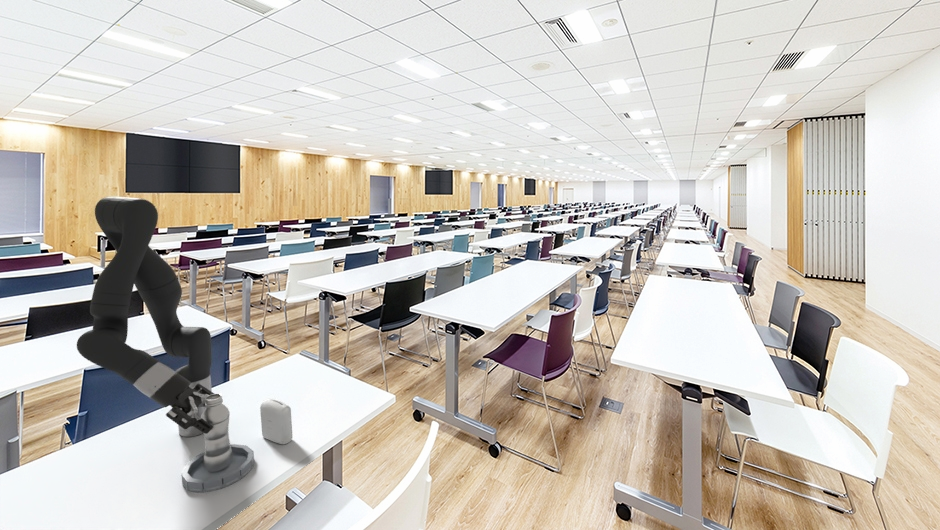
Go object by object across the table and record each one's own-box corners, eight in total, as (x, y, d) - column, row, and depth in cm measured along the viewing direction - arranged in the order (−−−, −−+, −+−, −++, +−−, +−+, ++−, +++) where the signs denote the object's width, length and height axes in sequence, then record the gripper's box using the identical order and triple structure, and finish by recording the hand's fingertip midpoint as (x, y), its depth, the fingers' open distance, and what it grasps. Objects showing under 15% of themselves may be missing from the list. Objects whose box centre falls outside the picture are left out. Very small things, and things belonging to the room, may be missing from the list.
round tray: (215, 450, 112) (214, 442, 112) (266, 455, 111) (266, 447, 110) (166, 488, 97) (165, 479, 96) (224, 495, 95) (224, 486, 94)
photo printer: (259, 437, 119) (257, 399, 117) (272, 430, 123) (270, 393, 121) (282, 447, 114) (280, 407, 113) (294, 439, 118) (293, 401, 117)
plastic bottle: (197, 474, 101) (191, 401, 98) (218, 457, 108) (213, 389, 105) (219, 477, 100) (213, 404, 97) (239, 460, 107) (234, 392, 104)
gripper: (158, 385, 91) (216, 425, 95) (187, 362, 105) (237, 398, 109) (134, 409, 91) (194, 448, 95) (166, 382, 104) (217, 417, 109)
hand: (217, 421), depth 102 cm, fingers open, 8 cm apart
